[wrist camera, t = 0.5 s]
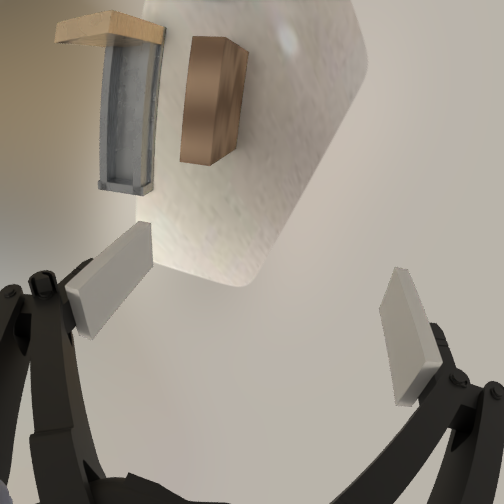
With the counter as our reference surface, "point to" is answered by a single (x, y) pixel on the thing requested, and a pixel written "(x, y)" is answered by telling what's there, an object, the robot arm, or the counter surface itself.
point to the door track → (123, 94)
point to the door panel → (212, 99)
